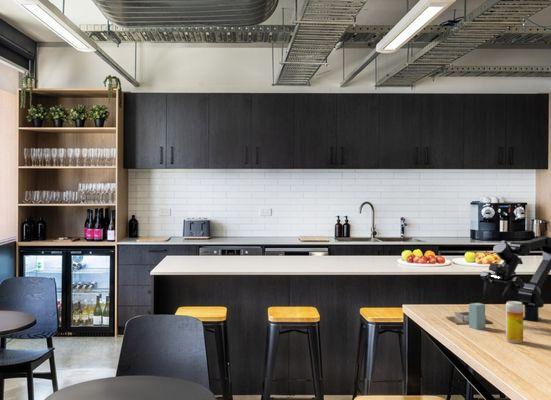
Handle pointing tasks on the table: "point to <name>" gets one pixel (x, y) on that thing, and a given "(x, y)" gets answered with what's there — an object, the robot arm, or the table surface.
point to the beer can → (514, 322)
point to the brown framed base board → (463, 318)
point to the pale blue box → (477, 316)
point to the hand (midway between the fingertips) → (493, 296)
